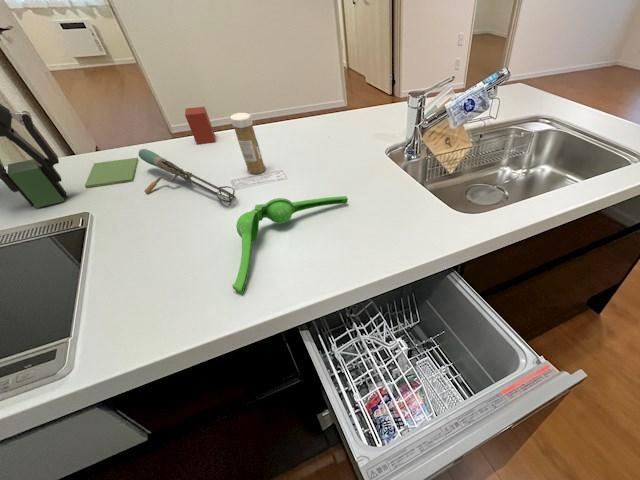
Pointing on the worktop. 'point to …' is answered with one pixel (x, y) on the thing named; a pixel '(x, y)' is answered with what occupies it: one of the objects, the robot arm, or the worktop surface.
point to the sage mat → (112, 172)
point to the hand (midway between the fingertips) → (49, 198)
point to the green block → (34, 183)
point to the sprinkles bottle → (248, 142)
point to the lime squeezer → (278, 213)
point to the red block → (200, 125)
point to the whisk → (172, 168)
